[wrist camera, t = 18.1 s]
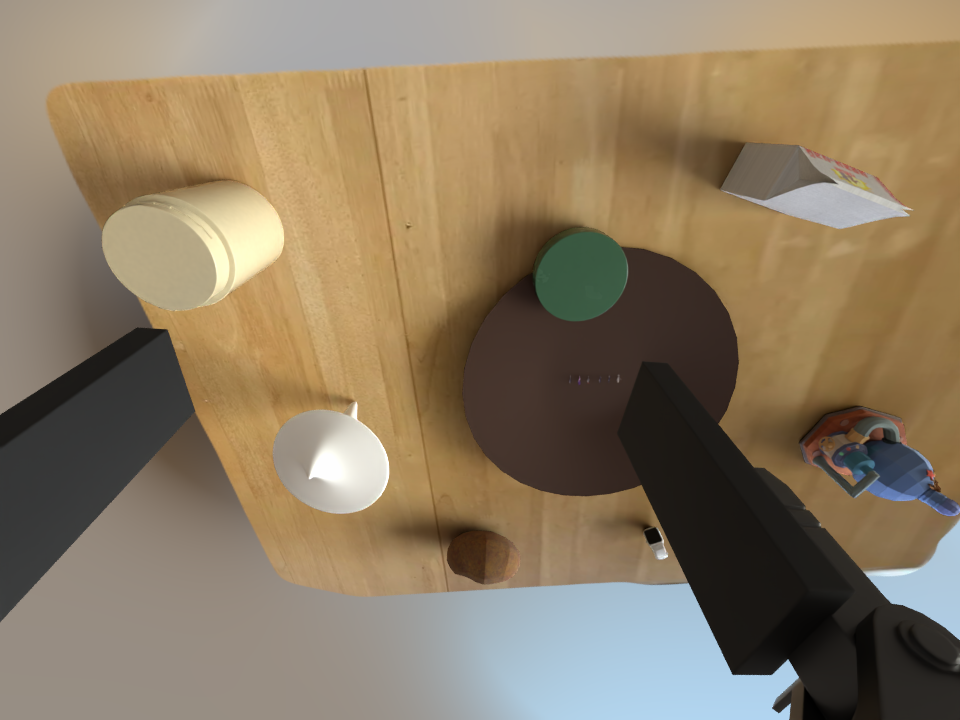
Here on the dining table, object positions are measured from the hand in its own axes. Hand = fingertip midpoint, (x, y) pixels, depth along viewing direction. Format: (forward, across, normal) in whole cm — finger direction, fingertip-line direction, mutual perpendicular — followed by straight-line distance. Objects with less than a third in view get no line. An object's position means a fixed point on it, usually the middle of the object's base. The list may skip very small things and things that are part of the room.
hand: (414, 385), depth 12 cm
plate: (+26, +16, -16) cm, 35 cm away
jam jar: (+26, -18, -3) cm, 32 cm away
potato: (+26, +7, -42) cm, 50 cm away
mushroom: (+26, -9, -21) cm, 35 cm away
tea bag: (+26, +26, +5) cm, 38 cm away
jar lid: (+24, +12, -4) cm, 27 cm away
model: (+26, +50, -22) cm, 60 cm away
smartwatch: (+26, +30, -40) cm, 56 cm away
